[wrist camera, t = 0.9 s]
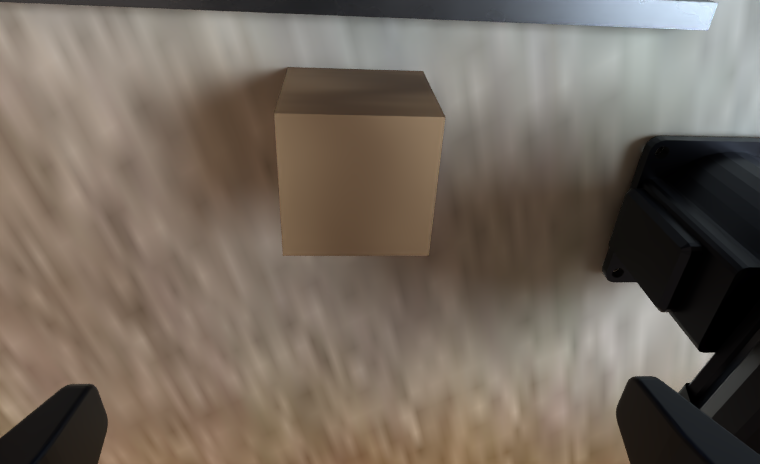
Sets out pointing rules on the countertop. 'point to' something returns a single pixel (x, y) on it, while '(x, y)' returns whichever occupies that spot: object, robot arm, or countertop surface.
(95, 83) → the countertop surface
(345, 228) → the block
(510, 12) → the track
